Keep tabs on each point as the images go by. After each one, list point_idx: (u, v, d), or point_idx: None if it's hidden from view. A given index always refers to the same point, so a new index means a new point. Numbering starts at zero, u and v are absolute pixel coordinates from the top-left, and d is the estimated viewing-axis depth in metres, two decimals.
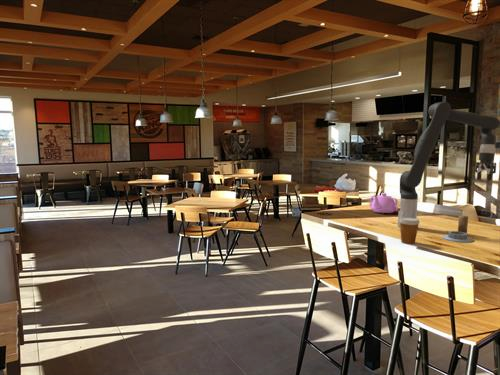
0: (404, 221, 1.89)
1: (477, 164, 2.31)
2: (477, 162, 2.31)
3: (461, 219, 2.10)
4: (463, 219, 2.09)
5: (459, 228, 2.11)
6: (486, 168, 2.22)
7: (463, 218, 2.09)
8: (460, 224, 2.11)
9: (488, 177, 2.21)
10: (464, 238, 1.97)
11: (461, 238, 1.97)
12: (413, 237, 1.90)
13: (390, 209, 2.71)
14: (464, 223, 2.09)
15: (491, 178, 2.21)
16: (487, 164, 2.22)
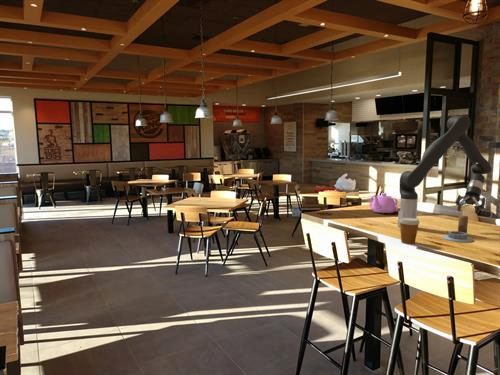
0: (404, 221, 1.89)
1: (460, 197, 2.24)
2: None
3: (461, 219, 2.10)
4: (463, 219, 2.09)
5: (459, 228, 2.11)
6: (476, 200, 2.16)
7: (463, 218, 2.09)
8: (460, 224, 2.11)
9: (477, 209, 2.13)
10: (464, 238, 1.97)
11: (461, 238, 1.97)
12: (413, 237, 1.90)
13: (390, 209, 2.71)
14: (464, 223, 2.09)
15: (478, 211, 2.14)
16: (476, 198, 2.18)
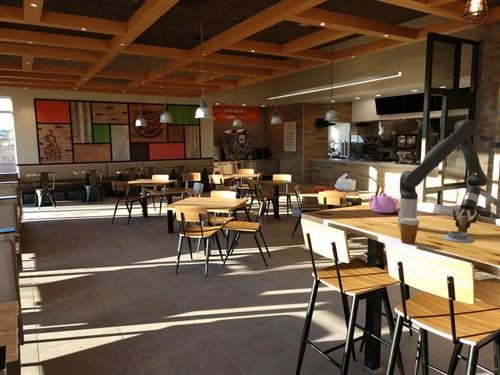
0: (404, 221, 1.89)
1: None
2: (454, 210, 2.18)
3: (461, 219, 2.10)
4: (464, 219, 2.09)
5: (459, 228, 2.11)
6: (469, 215, 2.11)
7: (463, 218, 2.09)
8: (460, 224, 2.11)
9: (468, 224, 2.09)
10: (464, 238, 1.97)
11: (461, 238, 1.97)
12: (413, 237, 1.90)
13: (390, 209, 2.71)
14: (464, 223, 2.09)
15: (469, 226, 2.09)
16: (471, 212, 2.12)
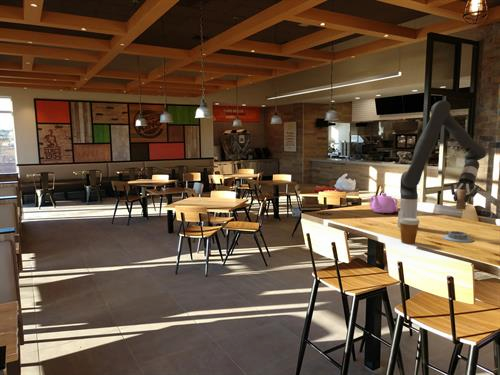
0: (404, 221, 1.89)
1: (453, 185, 2.07)
2: (452, 184, 2.08)
3: (460, 192, 2.00)
4: (462, 192, 1.99)
5: (457, 202, 2.01)
6: (468, 188, 2.01)
7: (462, 191, 1.99)
8: (458, 198, 2.01)
9: (467, 197, 1.99)
10: (464, 238, 1.97)
11: (461, 238, 1.97)
12: (413, 237, 1.90)
13: (390, 209, 2.71)
14: (463, 197, 2.00)
15: (468, 200, 1.99)
16: (470, 186, 2.02)
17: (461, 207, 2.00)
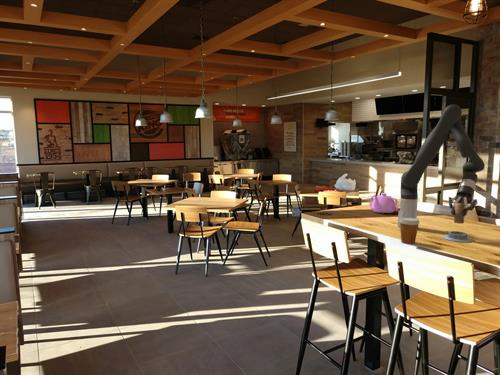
0: (404, 221, 1.89)
1: (451, 199, 2.05)
2: (450, 197, 2.06)
3: (458, 206, 1.98)
4: (460, 206, 1.97)
5: (455, 216, 1.99)
6: (466, 202, 1.99)
7: (459, 205, 1.97)
8: (456, 212, 1.99)
9: (464, 211, 1.97)
10: (464, 238, 1.97)
11: (461, 238, 1.97)
12: (413, 237, 1.90)
13: (390, 209, 2.71)
14: (461, 211, 1.97)
15: (466, 214, 1.97)
16: (468, 199, 2.00)
17: (459, 221, 1.98)
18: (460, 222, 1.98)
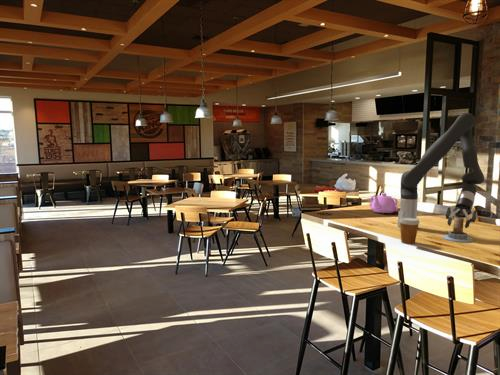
0: (404, 221, 1.89)
1: (450, 209, 2.06)
2: None
3: (457, 221, 1.99)
4: (459, 221, 1.98)
5: (454, 231, 2.00)
6: (467, 214, 1.99)
7: (458, 220, 1.98)
8: (455, 226, 2.00)
9: (467, 223, 1.97)
10: (464, 238, 1.97)
11: (461, 238, 1.97)
12: (413, 237, 1.90)
13: (390, 209, 2.71)
14: (459, 226, 1.98)
15: (468, 225, 1.97)
16: (467, 211, 2.01)
17: None
18: None
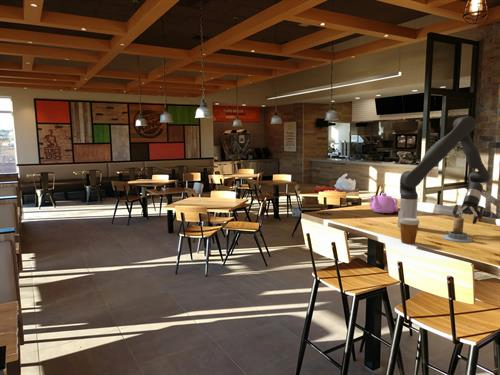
0: (404, 221, 1.89)
1: (457, 206, 2.16)
2: (457, 205, 2.17)
3: (457, 221, 1.99)
4: (459, 222, 1.98)
5: (454, 231, 2.00)
6: (474, 211, 2.08)
7: (458, 221, 1.98)
8: (455, 227, 1.99)
9: (474, 219, 2.06)
10: (464, 238, 1.97)
11: (461, 238, 1.97)
12: (413, 237, 1.90)
13: (390, 209, 2.71)
14: (459, 226, 1.98)
15: (476, 222, 2.06)
16: (474, 208, 2.10)
17: None
18: None
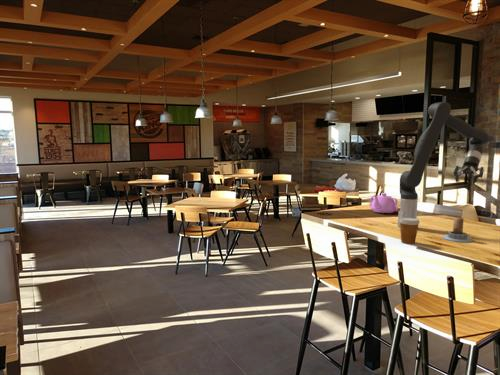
0: (404, 221, 1.89)
1: (458, 167, 2.20)
2: (458, 166, 2.21)
3: (457, 221, 1.99)
4: (459, 221, 1.98)
5: (454, 231, 2.00)
6: (474, 170, 2.13)
7: (458, 220, 1.98)
8: (455, 227, 2.00)
9: (475, 178, 2.10)
10: (464, 238, 1.97)
11: (461, 238, 1.97)
12: (413, 237, 1.90)
13: (390, 209, 2.71)
14: (459, 226, 1.98)
15: (476, 180, 2.10)
16: (475, 168, 2.14)
17: None
18: None
